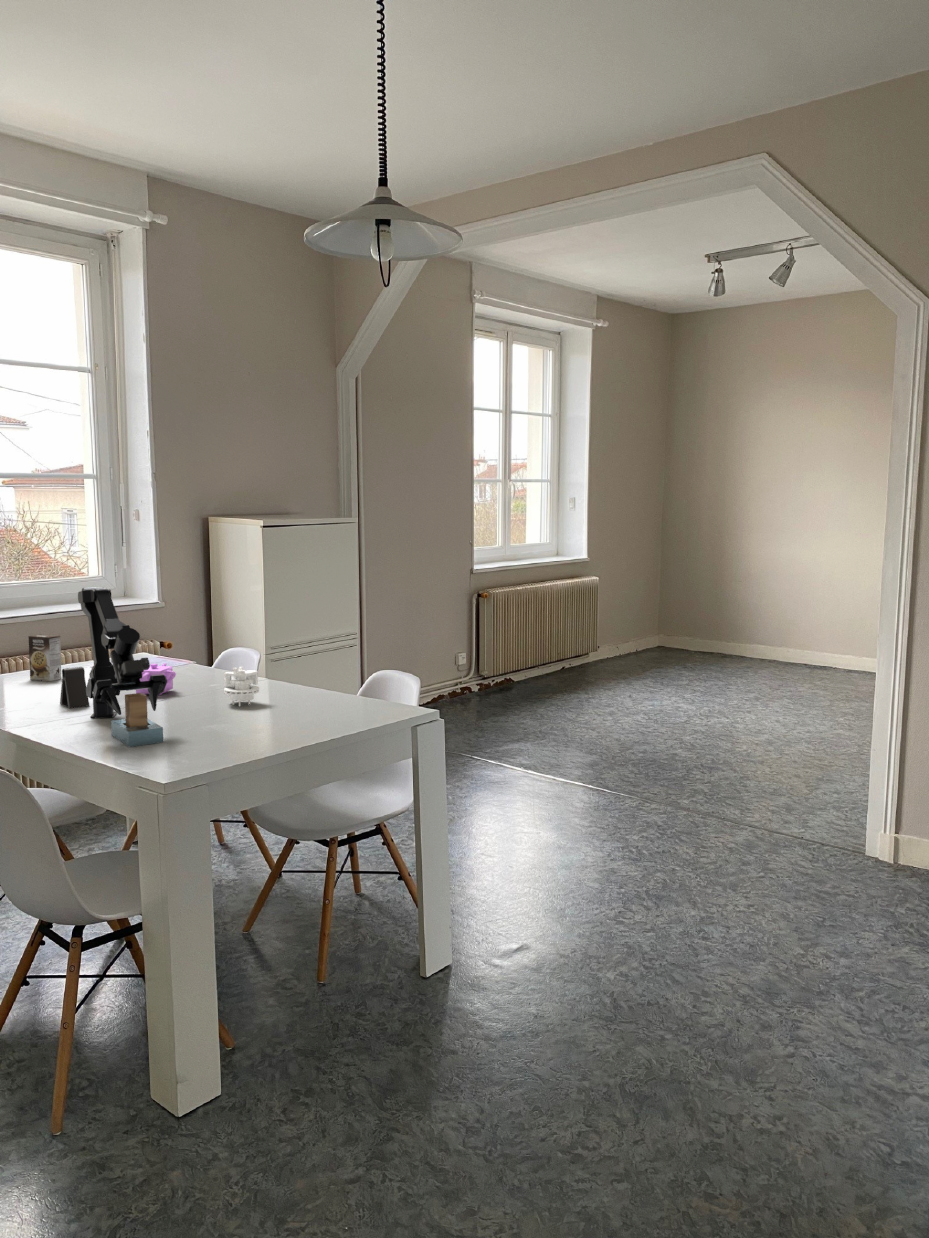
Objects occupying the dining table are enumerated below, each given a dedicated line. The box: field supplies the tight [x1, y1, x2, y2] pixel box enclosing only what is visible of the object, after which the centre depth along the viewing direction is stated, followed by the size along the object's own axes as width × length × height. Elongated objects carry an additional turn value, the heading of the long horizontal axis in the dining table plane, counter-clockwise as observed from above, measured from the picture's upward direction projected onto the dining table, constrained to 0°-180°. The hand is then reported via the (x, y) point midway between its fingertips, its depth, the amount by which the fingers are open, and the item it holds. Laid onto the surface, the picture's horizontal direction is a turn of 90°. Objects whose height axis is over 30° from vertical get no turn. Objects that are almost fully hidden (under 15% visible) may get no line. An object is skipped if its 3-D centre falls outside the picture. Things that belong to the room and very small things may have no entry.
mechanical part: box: [223, 666, 260, 707], centre depth 297 cm, size 11×12×12 cm
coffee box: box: [28, 633, 62, 682], centre depth 337 cm, size 9×6×16 cm
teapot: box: [135, 662, 177, 696], centre depth 314 cm, size 18×14×10 cm
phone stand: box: [59, 666, 90, 710], centre depth 293 cm, size 9×6×12 cm, turn 42°
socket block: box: [110, 717, 164, 748], centre depth 252 cm, size 16×9×4 cm, turn 36°
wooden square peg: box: [124, 692, 148, 727], centre depth 251 cm, size 4×4×12 cm
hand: (137, 712), depth 250 cm, fingers open, 9 cm apart
